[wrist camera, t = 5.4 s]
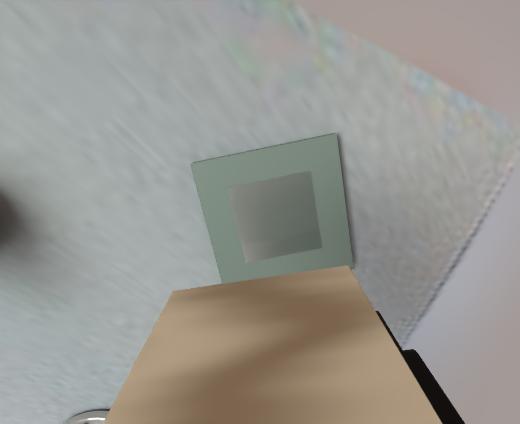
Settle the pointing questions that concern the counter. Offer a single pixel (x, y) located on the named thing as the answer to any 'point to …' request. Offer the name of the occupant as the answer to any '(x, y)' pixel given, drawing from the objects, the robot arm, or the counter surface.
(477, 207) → the counter surface
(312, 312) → the maple block
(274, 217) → the plate
